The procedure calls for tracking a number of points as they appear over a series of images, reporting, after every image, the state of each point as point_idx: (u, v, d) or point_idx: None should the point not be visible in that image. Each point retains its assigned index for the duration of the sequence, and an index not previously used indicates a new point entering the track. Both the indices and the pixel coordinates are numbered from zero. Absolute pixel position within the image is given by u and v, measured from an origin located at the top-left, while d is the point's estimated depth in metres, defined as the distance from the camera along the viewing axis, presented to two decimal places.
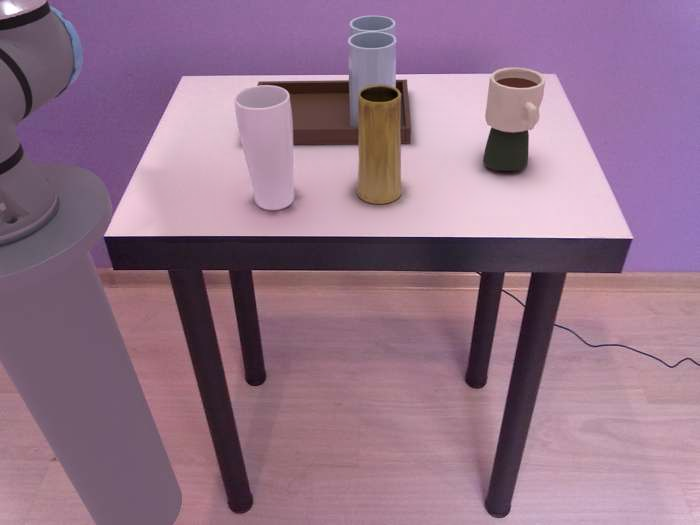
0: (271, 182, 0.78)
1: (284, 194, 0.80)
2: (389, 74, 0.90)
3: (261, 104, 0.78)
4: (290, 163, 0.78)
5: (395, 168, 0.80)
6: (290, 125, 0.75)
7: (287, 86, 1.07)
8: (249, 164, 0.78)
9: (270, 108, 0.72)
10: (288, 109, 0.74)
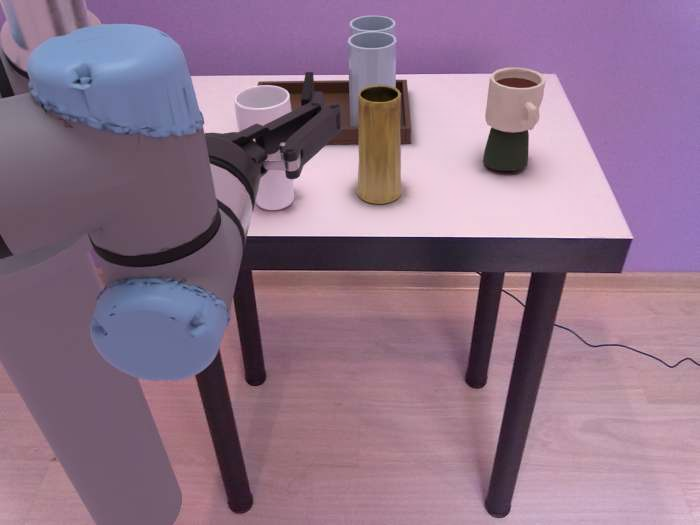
0: (271, 182, 0.78)
1: (284, 194, 0.80)
2: (389, 74, 0.90)
3: (261, 104, 0.78)
4: None
5: (395, 168, 0.80)
6: None
7: (287, 86, 1.07)
8: None
9: (270, 108, 0.72)
10: (288, 109, 0.74)
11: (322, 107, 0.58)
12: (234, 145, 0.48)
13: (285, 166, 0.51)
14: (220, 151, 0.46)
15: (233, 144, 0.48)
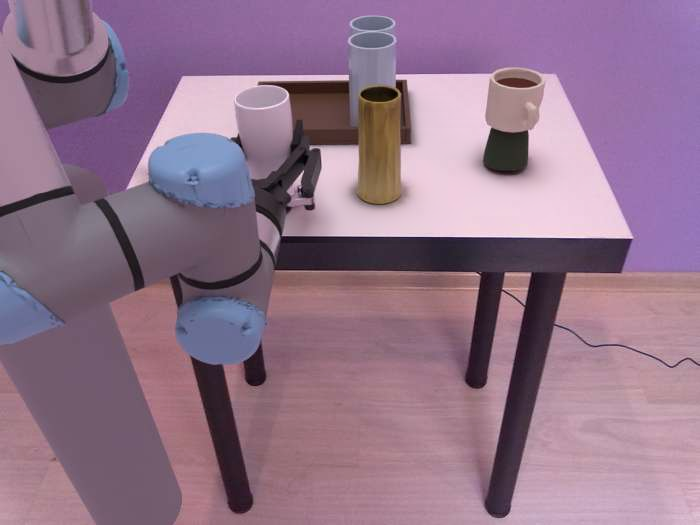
0: None
1: None
2: (389, 74, 0.90)
3: (261, 104, 0.78)
4: None
5: (395, 168, 0.80)
6: (290, 125, 0.75)
7: (287, 86, 1.07)
8: (249, 164, 0.78)
9: (269, 108, 0.72)
10: (288, 109, 0.74)
11: (306, 149, 0.76)
12: (267, 194, 0.65)
13: (306, 202, 0.69)
14: (258, 199, 0.64)
15: (267, 193, 0.65)
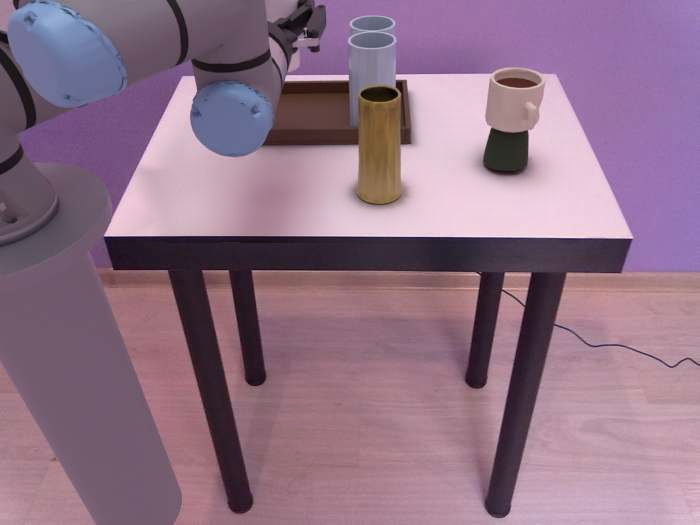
0: None
1: None
2: (389, 74, 0.90)
3: None
4: None
5: (395, 168, 0.80)
6: None
7: (287, 86, 1.07)
8: None
9: None
10: None
11: (312, 7, 0.81)
12: (275, 26, 0.70)
13: (311, 42, 0.74)
14: None
15: (275, 25, 0.70)
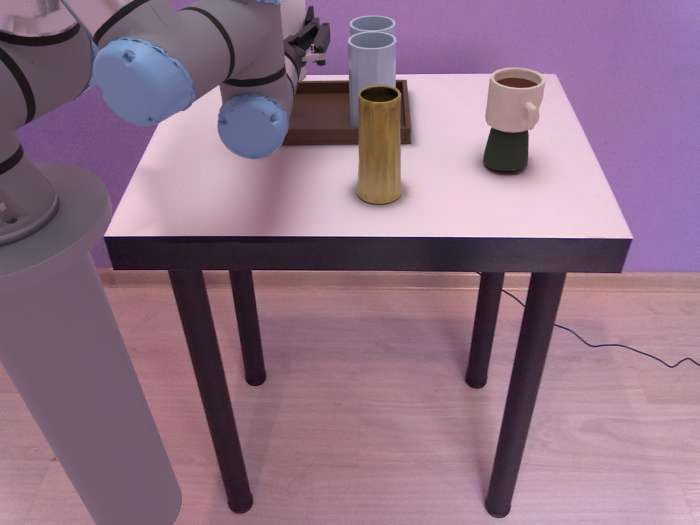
0: None
1: None
2: (389, 74, 0.90)
3: None
4: None
5: (395, 168, 0.80)
6: (303, 2, 0.89)
7: None
8: None
9: None
10: None
11: (317, 25, 0.90)
12: (287, 43, 0.79)
13: (318, 57, 0.83)
14: None
15: (286, 43, 0.79)
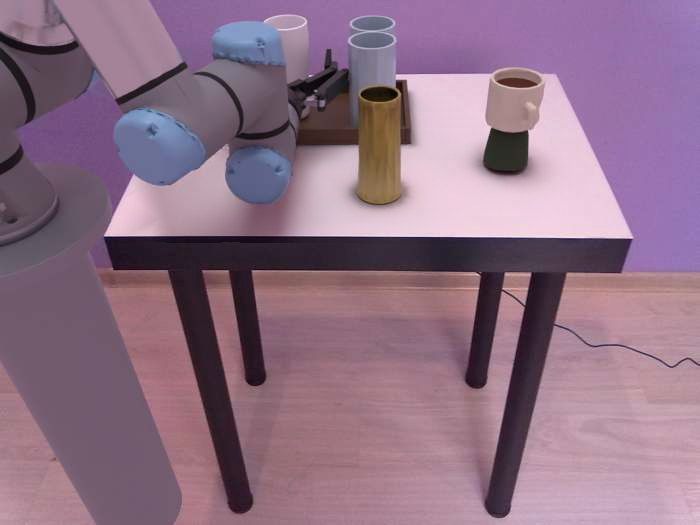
0: None
1: None
2: (389, 74, 0.90)
3: None
4: None
5: (395, 168, 0.80)
6: (307, 46, 0.93)
7: None
8: None
9: (292, 29, 0.90)
10: (306, 32, 0.92)
11: (337, 70, 0.93)
12: (289, 89, 0.83)
13: (317, 103, 0.86)
14: None
15: (289, 88, 0.83)
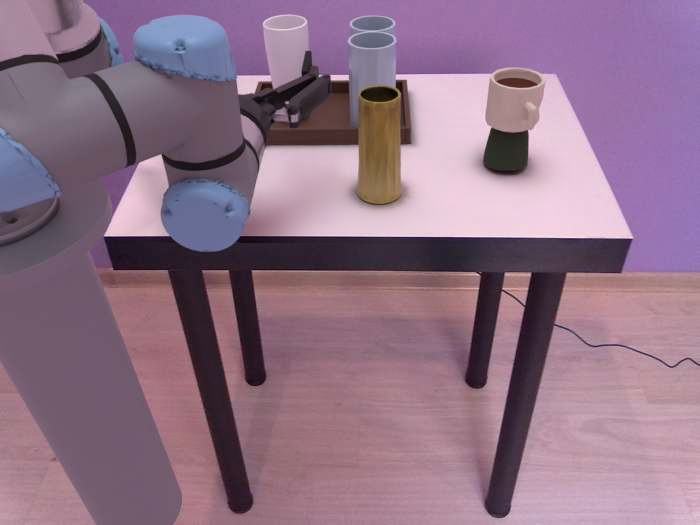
0: None
1: None
2: (389, 74, 0.90)
3: None
4: None
5: (395, 168, 0.80)
6: (307, 46, 0.93)
7: None
8: (274, 80, 0.96)
9: (292, 29, 0.90)
10: (306, 32, 0.92)
11: (317, 77, 0.77)
12: (252, 101, 0.67)
13: (288, 118, 0.70)
14: (243, 104, 0.65)
15: (251, 100, 0.67)
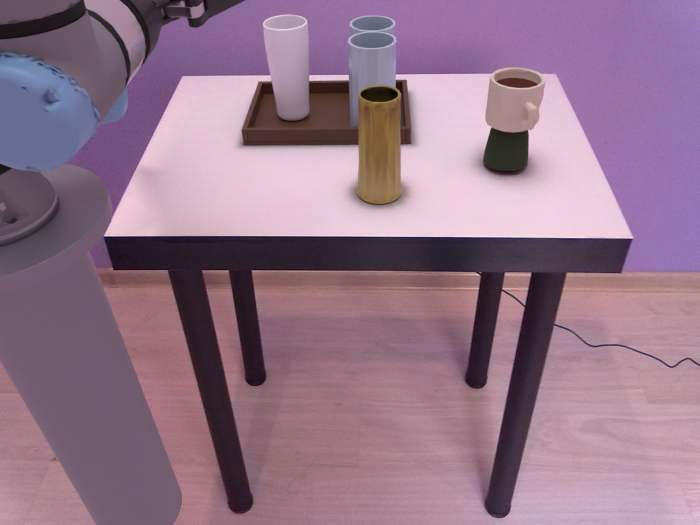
0: (291, 95, 0.96)
1: (301, 106, 0.98)
2: (389, 74, 0.90)
3: None
4: (307, 79, 0.96)
5: (395, 168, 0.80)
6: (307, 46, 0.93)
7: None
8: (274, 80, 0.96)
9: (292, 29, 0.90)
10: (306, 32, 0.92)
11: None
12: None
13: (186, 13, 0.52)
14: None
15: None
